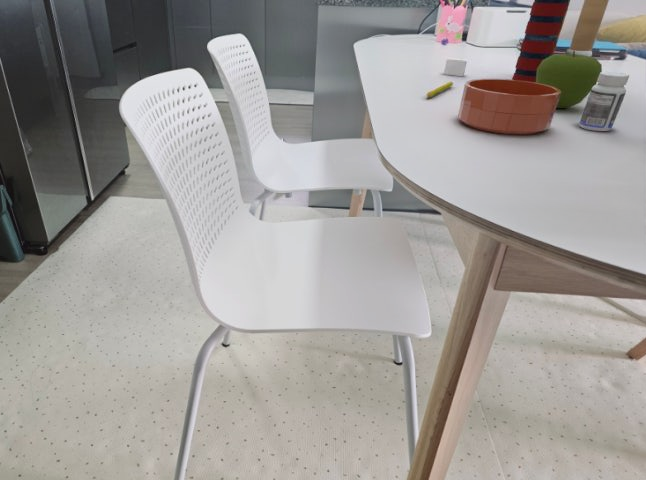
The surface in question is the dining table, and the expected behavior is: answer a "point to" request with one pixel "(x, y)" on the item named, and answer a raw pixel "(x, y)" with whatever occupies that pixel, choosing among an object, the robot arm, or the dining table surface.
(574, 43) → the stirring stick
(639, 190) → the dining table surface
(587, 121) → the pill bottle
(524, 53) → the red striped curved tube
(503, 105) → the bowl
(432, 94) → the pencil
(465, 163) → the dining table surface
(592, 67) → the apple
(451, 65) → the eraser
